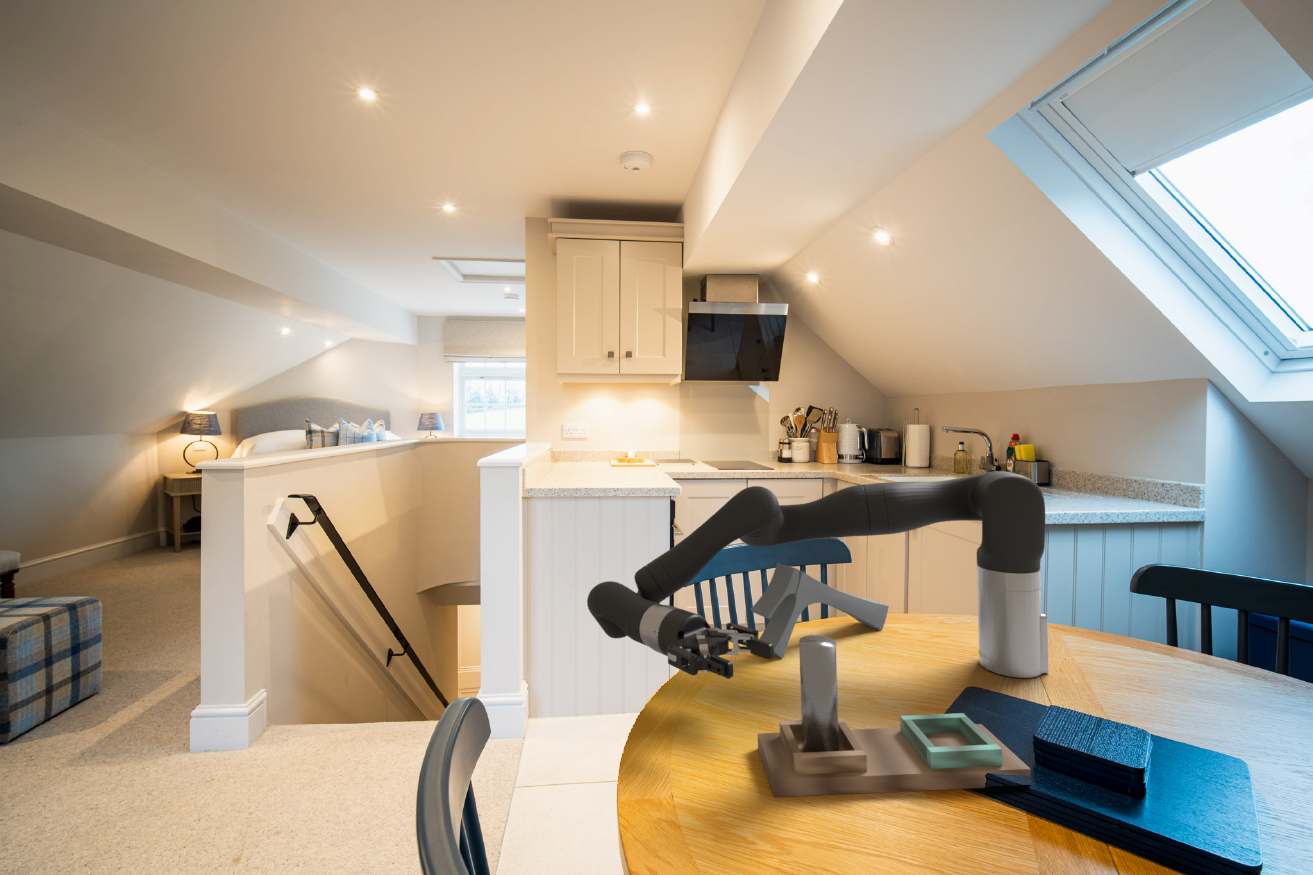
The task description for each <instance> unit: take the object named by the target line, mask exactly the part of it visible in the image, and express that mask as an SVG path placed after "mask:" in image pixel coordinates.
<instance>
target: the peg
mask: <svg viewBox="0 0 1313 875" xmlns="http://www.w3.org/2000/svg"><path fill="white" fill-rule="evenodd" d="M798 646H799V647H798V648H799V651H798V652H799V677H800V678H799V680H800V683H799V684H800V704H801V705H800V709H801V711H800V712H801V720H802V743H803V753H808V752H831V751H839V727H838V718H839V700H838V697H839V696H838V671H837V670H838V669H837V667H838V666H837V665H838V664H837V642H836V640H835V639H833V638H831V637H828V636H825V635H818V634H811V635H805V636H802V637H800V638H799V640H798Z"/></svg>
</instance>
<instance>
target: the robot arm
mask: <svg viewBox="0 0 1313 875" xmlns="http://www.w3.org/2000/svg"><path fill="white" fill-rule="evenodd" d="M953 521H954V522H955V521H959V522H960V521H962V522H963V521H971V522H972V521H981V543H980V546H979V547H977V549H976V581H977V582H976V585H977V587H976V588H977V589H976V590H977V621H978V623H977V624H978V626H977V627H978V654H979V656H978V657H979V658H978V659H979V660H978V663H979V665H981V667H983V668H984V669H985V670H987V671H990V672H993V673H996V674H998V675H1002V676H1006V677H1010V678H1020V679H1022V678H1025V679H1026V678H1027V679H1030V678H1035V677H1036V678H1037V677H1039V676H1041V675H1042V674H1045V673H1046V674H1048V673H1049V672H1050V670H1049V666H1050V665H1049V634H1048V633H1049V630H1048V629H1049V628H1048V626H1049V624H1048V623H1049V622H1048V621H1049V620H1048V616H1047V615H1046V614H1045V613H1042V590H1041V588H1042V587H1041V559H1042V558H1043V555H1044V551H1045V547H1046V546H1045V544H1046V503H1045V497H1044V495H1043V492H1042V489H1041V488H1040V487H1039V485H1038V484H1037V483H1036V482H1035V481H1034V480H1032V479H1030V478H1029V477H1027V476H1024V475H1021V474H1019V473H1018V474H1017V473H1014V472H1011V471H1004V470H995V471H989V472H983V473H979V474H974V475H969V476H963V477H958V478H953V479H947V480H946V479H945V480H938V481H937V480H936V481H894V482H893V481H891V482H876V483H866V484H857V485H852V486H847V487H845V488H841V489H839V490H837V491H834V492H832V493H830V494H827V495H825V496H824V497H821V498H819V499H816V500H813V501H810V502H809V501H808V502H806V503H799V504H797V503H796V504H780V503H779V500H778V497H777V496H776V494H774V492H772V490H770V489H769V488H767V487H765V486H759V485H755V486H754V485H753V486H749V487H745V488H743V489H742V490H740V491H739V492H737V493H736V494H734V496H732V497H731V498H730V499H729V500H728V501H727V502H725V504H723V506H721V507H720V508H719V509H718V510H717V511H716V512H714V514H712V515H711V516H710V517H709V518H708V519H706V521H704V522H703V523H702V524H701V525H700V526H698V527H697V528H696V529H695V530H694V531H692V532H691V533H690V534H689V535H688V536H686V537H685V538H684V539H683V540H681V541H680V542H678V543H677V544H676V545H675V546H673V547H672V548H670V549H669V550H667V551H665V552H664V553H662V554H661V555H659V556H658V557H656V558H655V559H653V560H651V561H650V562H649V563H647V564H646V565H644V566H642V567H641V568H639V569H638V570H637V571H636V572H635V573H634V575H633V576H634V583H635V585H636V587H637V592H636V591H634V590H632V589H630V588H629V587H628V586H626V585H624V584H622V583H620V582H618V581H613V580H611V581H603V582H601V583H598V584H597V585H595V586H593V588H592V589H591V590H590V592H589V593H588V596H587V599H586V600H587V602H586V603H587V609H588V610H589V611H588V612H590V614H591V616H592V617H593V618H594V619H595V621H596V622H597V624H598V625H599V626H600V628H601V629H602V631H603V632H604V633H605V634H606V635H607V636H608V637H609V638H611V639H622V638H623V639H624V638H625V637H628V638H629V639H631V640H633V641H635V642H637V643H639V644H642V645H644V646H647V647H649V648H650V649H651V650H653V651H655V652H656V653H659V654H661V655H664V656H666V657H667V664H668V665H670V666H672V667H674V668H676V669H678V670H679V671H682V672H684V673H686V674H688V675H691V676H697V675H699V671H701V672H702V673H705V674H708V673H711V674H712V673H713V674H715V675H717V676H720V677H722V678H726V679H729V680H730V679H731V678H733V677H734V663H733V661H731V660H729V659H727V658H724V657H722V656H738V655H739V654H740V653H745V654H746V653H750V654H751V655H754V656H756V657H759V658H762V659H765V660H768V661H770V660H772V659H773V658H774V656H775V655H774V653H773V645H772V644H771V643H768V642H765V641H762V640H759V639H760V637H759V634H760V632H759V630H758V629H755V628H751V627H747V626H743V625H740V624H736V623H733V622H728V623H726V624H725V625H726V626H725V629H720V628H719V627H711V625H710V624H709V622H708V621H707V620H706V618H705V617H704V616H703V615H700V614H699V613H694V612H692V611H689V610H685V609H683V608H678V607H676V606H672V605H668V604H667V605H666V604H661V603H662V602H663V601H664V600H666V599H667V598H669V597H670V596H672V595H673V594H675V593H677V592H678V591H680V590H681V589H682V588H684V587H685V586H687V585H688V584H690V582H692V581H693V580H694V579H695V578H696V577H697V576H698V575H699V574H700V573H701V572H702V570H704V568H705V567H706V566H707V565H708V564H709V563H710V562H711V560H713V559H714V558H715V557H716V555H718V553H720V552H721V551H722V550H723V549H725V548H726V547H727V546H729V545H730V544H732V543H733V542H735V541H737V540H738V539H739V540H740V541H741V542H742V543H744V544H745V545H748V546H751V547H755V548H756V547H757V548H767V547H772V546H777V545H783V544H789V543H795V542H801V541H807V540H809V541H810V540H818V539H819V540H820V539H833V538H834V539H835V538H848V537H851V538H852V537H868V536H869V537H870V536H882V535H884V536H885V535H894V534H901V533H906V532H909V531H913V530H917V529H920V528H923V527H927V526H929V525H933V524H938V523H944V522H953ZM729 642H730V643H731V644H732V648H730V646H729V644H730V643H729ZM740 645H741V646H740Z"/></svg>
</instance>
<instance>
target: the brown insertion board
mask: <svg viewBox="0 0 1313 875" xmlns="http://www.w3.org/2000/svg"><path fill="white" fill-rule="evenodd" d="M899 720H900V724H899V725H900V726H899V727H881V728H858V729H850V727H849V725H848V723H846V721H845V719H844V718H842V717H841V718H840V717H838V727H839V751H831V752H808V753H803V743H802V719H796V720H795V719H794V720H792V719H791V720H779V732H767V733H765V732H764V733H763V732H761V733H760V732H759V733H757V749H758V753H759V755H760V758H761V762H762V765H763V768H764V771H765V773H766V777H767V779H768V782H769V786H770V788H771V792H772V796H773V798H781V797H782V798H783V797H802V796H804V797H805V796H807V797H808V796H825V795H827V796H828V795H829V796H830V795H847V794H848V795H849V794H851V795H853V794H871V793H872V794H873V793H895V792H898V793H899V792H920V791H921V792H922V791H941V790H943V791H944V790H963V789H964V790H965V789H986V788H985V783H986V777H985V775H986V774H987V773H995V774H996V773H997V774H1004V775H1022V776H1023V775H1029V776H1030V775H1031V771H1032V770H1031V768H1030V766H1028V765H1027V764H1026V763H1025V762H1023V760H1021V759H1020V758H1019V757H1018V756H1017V755H1016V754H1015V753H1014V752H1013V751H1011V750H1010V749H1009V747H1007V746H1006V745H1005V744H1004V743H1003V742H1002V741H1001V740H999V739H998V738H997V737H996V736H995V735H994V734H993V733H992V732H991V731H990V730H988V728H987V727H985V726H984V725H983V724H982V723H975V722H973V720H971V718H969V717H968V716H967V715H966V714H965V713H964V712H961V713H960V712H959V713H958V712H957V713H955V712H954V713H935V714H934V713H933V714H915V715H913V714H911V715H910V714H909V715H908V714H907V715H900V716H899ZM1031 776H1032V775H1031Z"/></svg>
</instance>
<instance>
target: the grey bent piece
mask: <svg viewBox="0 0 1313 875" xmlns="http://www.w3.org/2000/svg"><path fill="white" fill-rule="evenodd" d="M819 603H820V604H824V605H827V606H830V607H832V608H834V609H836V610H838V611H840V612H842V613H844V614H846V615H848V616H850V617H852V618H853V619H855V620H856V621H857V622H858V623H860V624H862V625H863V626H866V627H868V628H871V629H876V630H878V631H879V630H880V631H883V629H884V626H885V623H886V619H887V616H888V611H889V605H887V604H885V603H883V602H880V601H878V600H876V599H875V600H874V599H869V598H864V597H860V596H857V595H854V594H850V593H847V592H845V591H842V590H839V589H837V588H834V587H832V586H830V585H827V584H825V583H823V582H821V581H819V580H818V579H816V578H813V577H812V576H810V575H809V574H807V573H806V572H804V571H803V570H800V569H798V568H795V567H793V566H790V565H789V566H788V565H786V564H783V563H779V562H777V563H776V566H775V568H774V571H773V574H772V577H771V580H770V582H769V584H768V586H767V587H766V589H765V591H764V592H763V593H762V595H761V596H760V597H759V599H758V600H757V601H756V603H755V604H754V605H753V606H752V607H751V608H750V610H751V612H752V613H753V614H756V615H758V616H761V617H763V618H765V619H768V623H767V624H766V627H765V628H764V630H763V632H762V633H761V635H760V637H759V640H762V641H765V642H768V643H771V644H772V645H773V653H774V656H775V655H776V656H775V657H777V656H778V658H779V657H780V659H781V658H783V659H784V657H785V654H786V651H787V647H788V644H789V642H790V639H791V636H792V634H793V630H794V628H795V625H796V624H797V621H798V619H799V617H800V616H801V614H802V612H803V611H804V610H805V609H806V608H807V607H808V606H810V605H813V604H819Z"/></svg>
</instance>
